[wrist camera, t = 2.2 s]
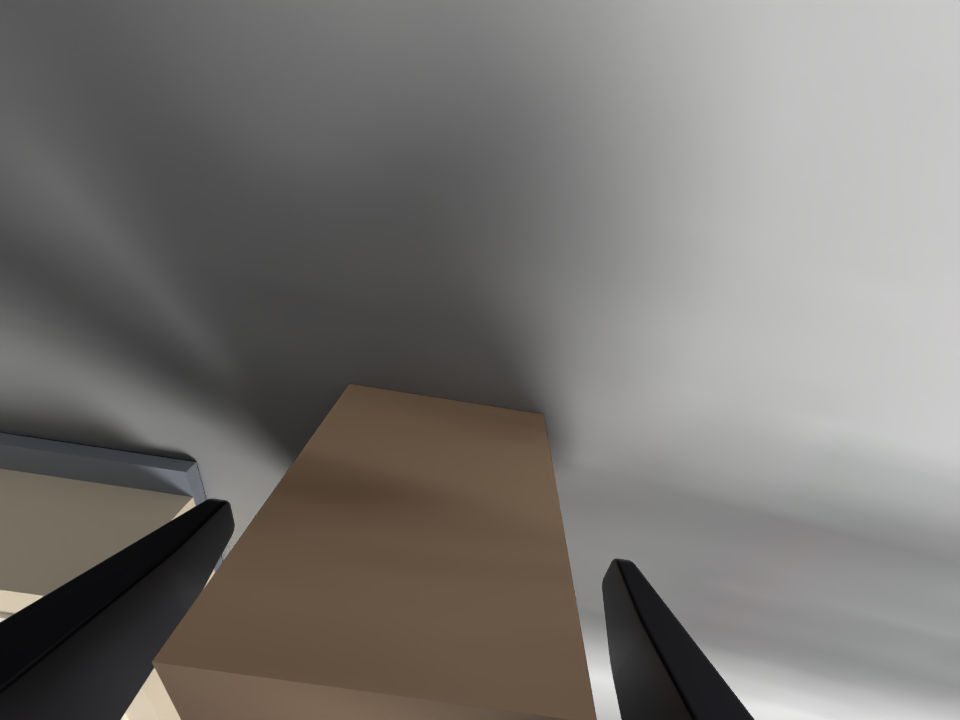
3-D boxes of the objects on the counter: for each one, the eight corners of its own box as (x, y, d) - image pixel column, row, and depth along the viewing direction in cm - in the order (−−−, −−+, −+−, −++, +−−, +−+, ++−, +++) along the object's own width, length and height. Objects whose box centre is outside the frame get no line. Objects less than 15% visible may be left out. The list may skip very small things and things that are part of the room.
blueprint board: (277, 767, 22) (240, 867, 19) (0, 731, 21) (-85, 827, 18) (195, 462, 11) (73, 580, 8) (-376, 376, 10) (-749, 463, 7)
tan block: (507, 540, 12) (512, 844, 6) (351, 517, 12) (226, 808, 6) (543, 413, 10) (596, 722, 4) (349, 382, 9) (152, 661, 4)
